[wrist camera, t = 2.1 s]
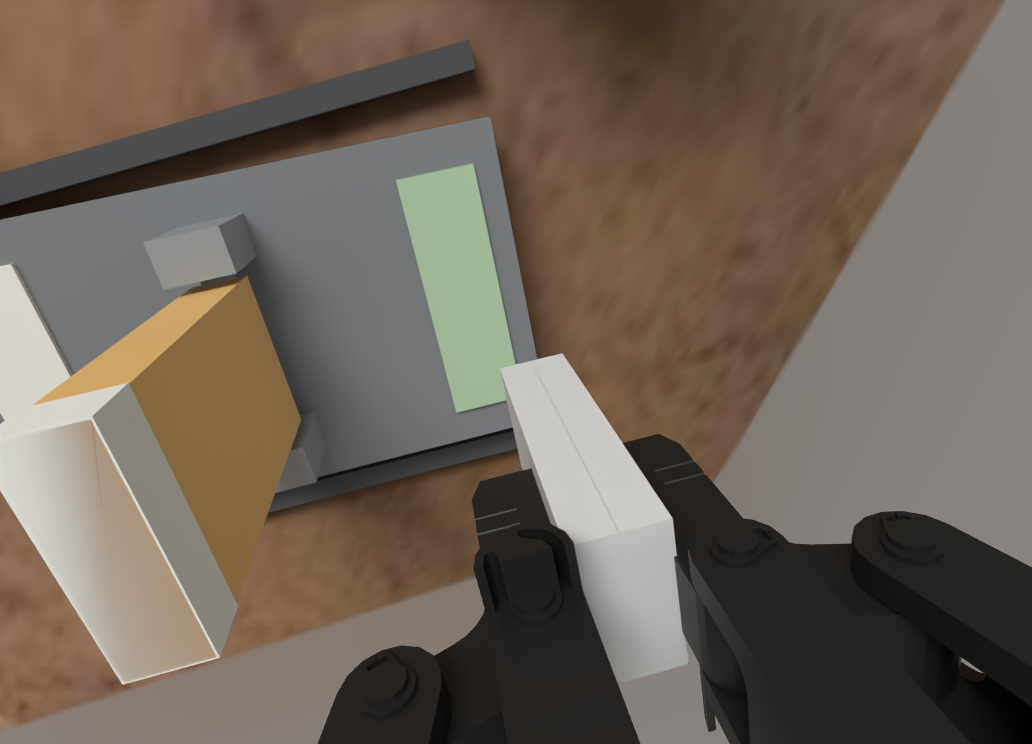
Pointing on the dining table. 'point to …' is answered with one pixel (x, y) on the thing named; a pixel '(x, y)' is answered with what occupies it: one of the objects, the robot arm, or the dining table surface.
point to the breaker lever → (157, 476)
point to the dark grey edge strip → (396, 468)
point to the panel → (300, 287)
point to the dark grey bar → (234, 123)
